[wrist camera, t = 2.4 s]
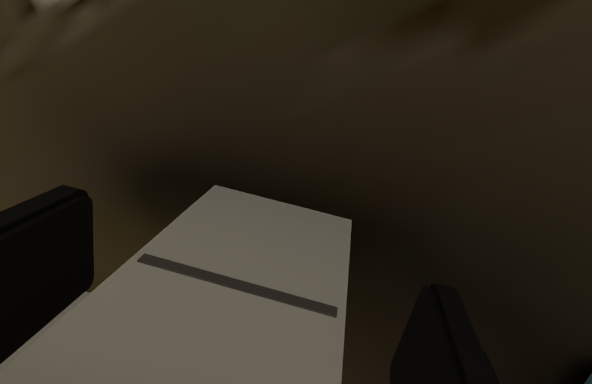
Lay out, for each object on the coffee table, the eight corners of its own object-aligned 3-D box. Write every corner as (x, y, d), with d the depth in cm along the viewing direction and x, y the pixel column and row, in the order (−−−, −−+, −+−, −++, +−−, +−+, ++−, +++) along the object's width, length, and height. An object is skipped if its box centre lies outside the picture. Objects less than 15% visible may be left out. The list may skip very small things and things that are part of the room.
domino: (215, 183, 13) (-159, 505, 4) (352, 218, 12) (322, 684, 3) (208, 234, 14) (-112, 604, 4) (337, 269, 13) (280, 759, 4)
